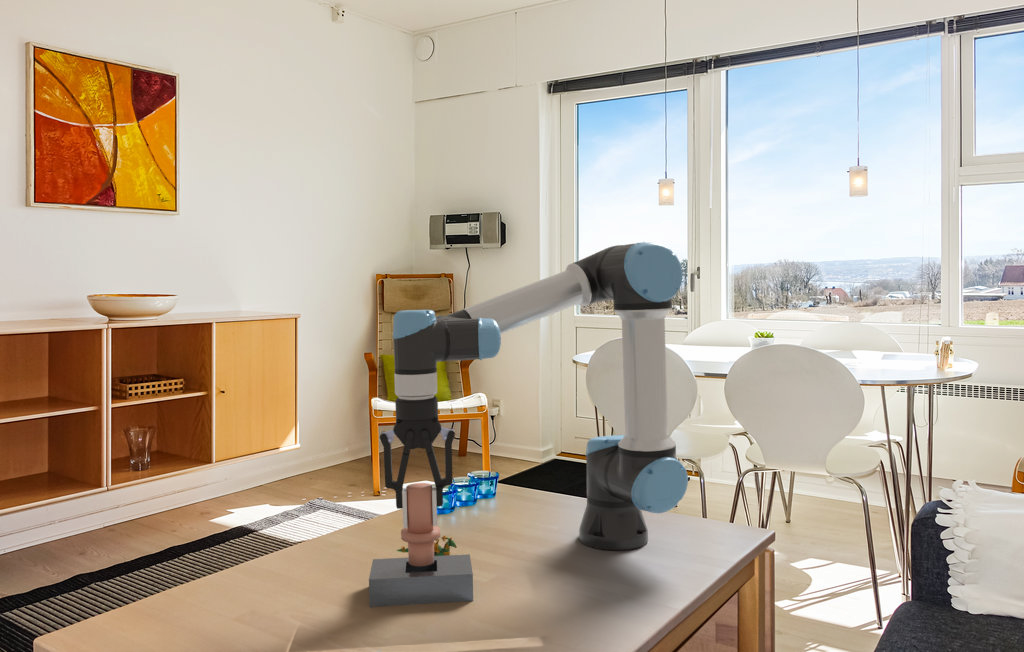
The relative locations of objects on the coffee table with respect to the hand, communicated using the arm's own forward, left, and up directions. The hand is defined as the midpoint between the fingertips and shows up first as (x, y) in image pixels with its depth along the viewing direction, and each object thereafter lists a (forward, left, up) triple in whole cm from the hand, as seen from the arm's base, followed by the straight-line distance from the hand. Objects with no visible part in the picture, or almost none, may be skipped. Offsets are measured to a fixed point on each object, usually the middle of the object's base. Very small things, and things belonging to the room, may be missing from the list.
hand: (420, 524), depth 138 cm
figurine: (-1, -14, -14) cm, 19 cm away
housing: (0, 0, -14) cm, 14 cm away
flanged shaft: (0, 0, -7) cm, 7 cm away
